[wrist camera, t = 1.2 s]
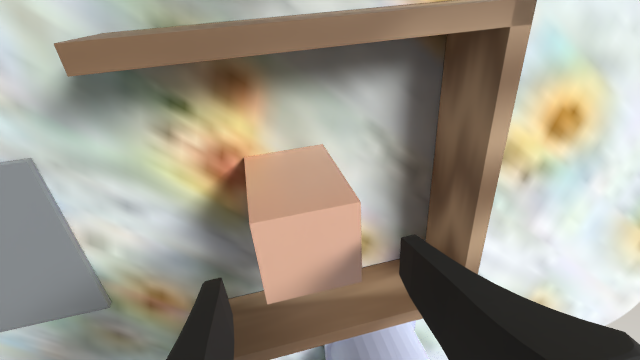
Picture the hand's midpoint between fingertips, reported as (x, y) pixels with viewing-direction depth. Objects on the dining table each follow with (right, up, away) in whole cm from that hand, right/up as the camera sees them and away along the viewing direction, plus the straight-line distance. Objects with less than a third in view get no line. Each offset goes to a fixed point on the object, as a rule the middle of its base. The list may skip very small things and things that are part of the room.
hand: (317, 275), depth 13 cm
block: (-2, +3, +7) cm, 8 cm away
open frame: (0, +4, +7) cm, 8 cm away
